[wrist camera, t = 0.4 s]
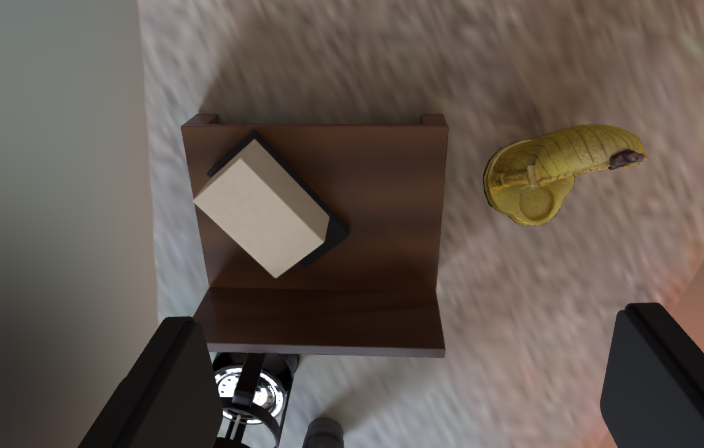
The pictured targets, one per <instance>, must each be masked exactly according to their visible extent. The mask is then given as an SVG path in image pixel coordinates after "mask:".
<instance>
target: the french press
mask: <svg viewBox="0 0 704 448" xmlns="http://www.w3.org/2000/svg"><path fill="white" fill-rule="evenodd" d="M277 354H278V355H279V356H281V357H282V358H283V360H284V361H285V362H286V363H287V366H286V368H285V369H284V370H283V371H282V372H281V373H279V374H278V375H276V376H275V375H274V374H272V373H271V372H270V371H268V370H267V369H265V368H263V365H264V362H265V359H266V355H267V353H247V356H246V359H245V362H244V363H235V364H233V362H232V361H231V358H230V354H229V352H217V355H216V357H215V359H214V362H213V364H212V367H213V370H214V374H215V378H216V382H217V386H218V390H219V394H220V398H221V402H222V406H223V417H225V418H227V419H229V420H231V421H230V424H229V427H228V430H227V433H226V436H225V438H223V437H216V440H215V443H214V445H213V448H250V447H249V446H247V445H245V444H243V443H241V441H242V438H243V434H244V431H245V428H246V424H250V425H255V424H262V423H264V424H265V425H266V426H267V427H268V428H269V429H270V431H271V432H272V433H273V435H274V438H275V440H276V445H275V447H274V448H278V447H279V443H280V438H281V433H282V429H283V424H284V420H285V415H286V411H287V406H288V402H289V397H290V392H291V388H292V383H293V379H294V374H295V372H296V370H297V368H298V365H299V360H300V357H299V354H282V353H277ZM286 394H287V397H285V395H286ZM283 409H284V410H283ZM282 411H283V414H282V419H281V423H280V427H279V425H278V422H277V421H276V419H275V418H276V417H278V416H279V415H280V414H281V412H282Z"/></svg>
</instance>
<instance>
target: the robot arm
mask: <svg viewBox="0 0 704 448" xmlns="http://www.w3.org/2000/svg"><path fill="white" fill-rule="evenodd" d="M600 409H601V414H602V417H603V419H604V421H605V423H606V425H607V427H608V429H609V431H610V433H611V435H612V437H613V439H614V441H615V443H616V445H617V447H618V448H704V353H703V352H702V351H701V349H700V348H699V347H698V346H697V345H696V344H695V343H694V341H693V340H692V339H691V338H690V337H689V336H688V335H687V333H686V332H685V331H684V330H683V329H682V328H681V327H680V325H678V323H677V322H676V321H675V320H674V319H673V317H672V316H671V315H670V314H669V313H668V312H667V311H666V310H665V308H664V307H663V306H662V305H661V304H659V303H630V304H627V306H626V307H625V310H620V311H619V312H618V313H617V317H616V322H615V327H614V332H613V337H612V343H611V348H610V353H609V358H608V363H607V369H606V374H605V379H604V384H603V389H602V395H601V400H600ZM222 419H223V406H222V402H221V398H220V394H219V390H218V386H217V382H216V378H215V374H214V370H213V367H212V363H211V359H210V355H209V351H208V347H207V343H206V339H205V335H204V331H203V328H202V325H201V324H200V323H199V322H195V321H194V319H193V318H192V317H190V316H186V317H167V318H165V319H164V320H163V321H162V323H161V324H160V326H159V327H158V329H157V331H156V332H155V334H154V335H153V337H152V338H151V340H150V341H149V343H148V344H147V346H146V347H145V349H144V351H143V352H142V354H141V355H140V357H139V358H138V360H137V361H136V363H135V364H134V366H133V367H132V369H131V370H130V372H129V373H128V375H127V376H126V378H124V379H123V380H122V382H121V383H120V384H119V385H118V387H117V388H116V390H115V391H114V393H113V395H112V396H111V397H110V399H109V401H108V402H107V404H106V405H105V407H104V408H103V410H102V411H101V413H100V414H99V416H98V417H97V419H96V420H95V422H94V423H93V425H92V426H91V428H90V429H89V431H88V432H87V434H86V435H85V437H84V439H83V440H82V442H81V443H80V445H79V446H78V448H213V445H214V443H215V440H216V437H217V435H218V432H219V429H220V426H221V423H222Z"/></svg>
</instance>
